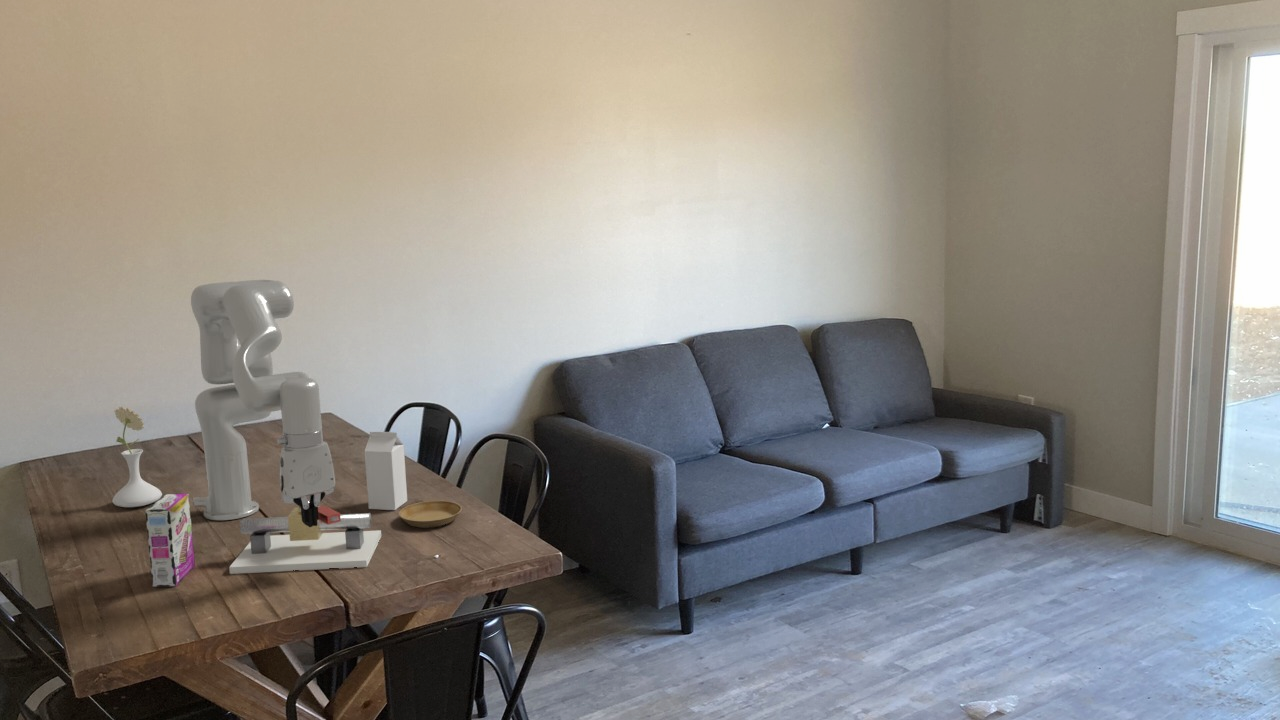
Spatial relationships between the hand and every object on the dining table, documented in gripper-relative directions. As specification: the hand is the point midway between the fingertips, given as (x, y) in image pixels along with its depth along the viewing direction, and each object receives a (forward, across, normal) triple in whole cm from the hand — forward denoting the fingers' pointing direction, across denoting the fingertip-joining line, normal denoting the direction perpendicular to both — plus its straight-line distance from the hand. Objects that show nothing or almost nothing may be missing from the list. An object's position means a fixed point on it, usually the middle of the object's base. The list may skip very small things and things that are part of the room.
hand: (310, 524), depth 205 cm
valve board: (+10, +3, +10) cm, 14 cm away
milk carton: (+10, +31, +28) cm, 43 cm away
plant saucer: (+11, +34, +11) cm, 37 cm away
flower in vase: (+10, -15, +75) cm, 77 cm away
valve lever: (0, +3, +4) cm, 5 cm away
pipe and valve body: (+9, +3, +10) cm, 13 cm away
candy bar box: (+10, -22, +18) cm, 30 cm away
